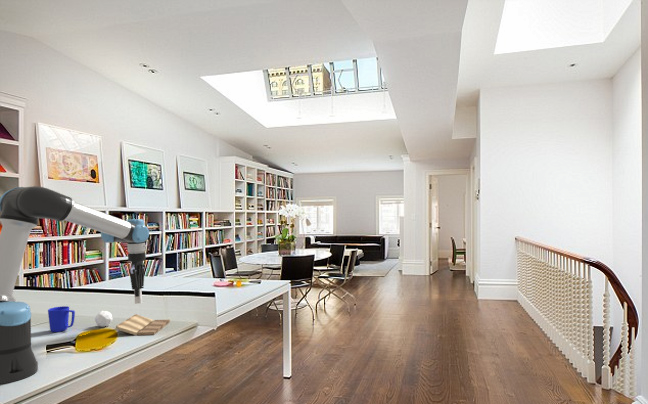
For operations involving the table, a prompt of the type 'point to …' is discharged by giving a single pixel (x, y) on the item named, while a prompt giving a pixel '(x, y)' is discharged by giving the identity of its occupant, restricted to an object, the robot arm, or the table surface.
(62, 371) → the table surface
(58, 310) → the mug
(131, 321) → the plank
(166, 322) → the laid strip
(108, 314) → the ornament
